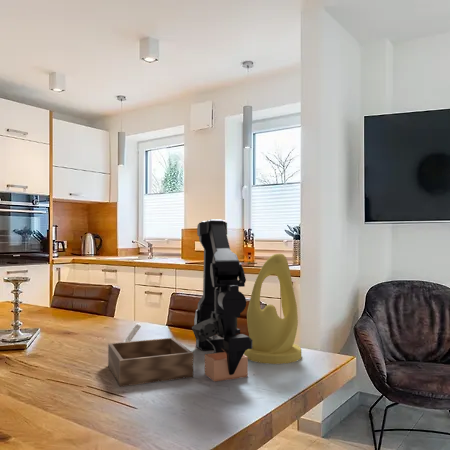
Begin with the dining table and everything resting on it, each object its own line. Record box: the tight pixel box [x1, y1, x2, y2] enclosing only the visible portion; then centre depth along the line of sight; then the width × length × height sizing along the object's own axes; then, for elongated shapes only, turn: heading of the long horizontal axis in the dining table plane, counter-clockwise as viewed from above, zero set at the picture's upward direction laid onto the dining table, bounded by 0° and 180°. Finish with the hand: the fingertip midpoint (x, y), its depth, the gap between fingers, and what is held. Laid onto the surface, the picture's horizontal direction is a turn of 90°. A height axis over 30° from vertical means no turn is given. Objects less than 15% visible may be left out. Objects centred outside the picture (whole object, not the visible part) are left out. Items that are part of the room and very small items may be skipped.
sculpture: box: [244, 253, 302, 365], centre depth 133 cm, size 17×17×30 cm
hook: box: [123, 322, 142, 342], centre depth 132 cm, size 8×12×7 cm
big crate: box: [107, 337, 194, 387], centre depth 117 cm, size 18×18×6 cm
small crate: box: [204, 352, 249, 382], centre depth 114 cm, size 9×6×5 cm
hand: (225, 370), depth 114 cm, fingers closed on small crate, 6 cm apart
